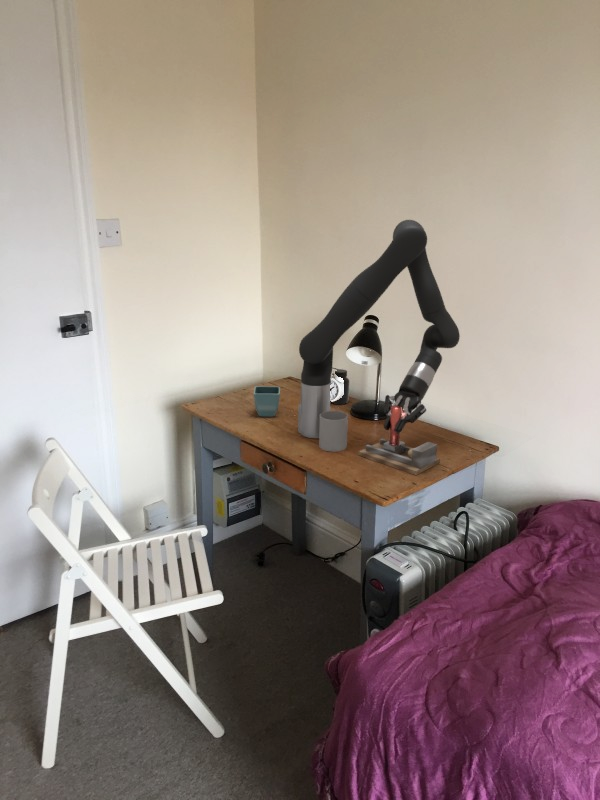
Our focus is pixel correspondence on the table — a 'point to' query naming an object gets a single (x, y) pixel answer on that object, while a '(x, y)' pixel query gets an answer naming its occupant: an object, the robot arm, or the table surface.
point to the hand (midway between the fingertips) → (391, 430)
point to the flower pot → (266, 400)
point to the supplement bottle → (343, 375)
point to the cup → (333, 431)
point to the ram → (394, 433)
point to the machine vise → (404, 457)
